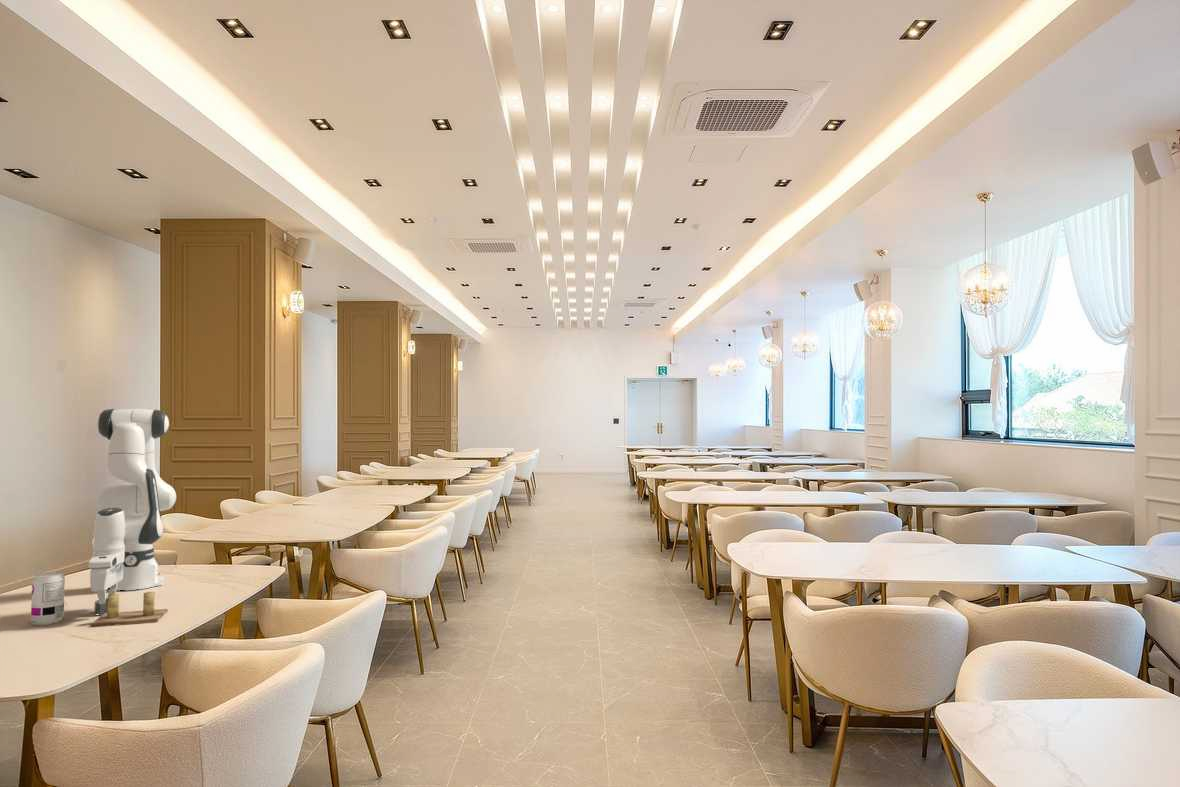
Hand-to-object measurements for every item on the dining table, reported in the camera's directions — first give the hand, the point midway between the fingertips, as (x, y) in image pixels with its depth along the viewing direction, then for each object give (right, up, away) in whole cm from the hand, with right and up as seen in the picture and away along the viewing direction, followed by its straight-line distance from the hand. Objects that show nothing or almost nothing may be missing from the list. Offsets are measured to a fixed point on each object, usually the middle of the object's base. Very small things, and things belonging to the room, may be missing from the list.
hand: (107, 600), depth 233 cm
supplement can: (-12, -4, -11) cm, 16 cm away
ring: (-1, -4, 0) cm, 4 cm away
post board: (+12, -4, -7) cm, 15 cm away
